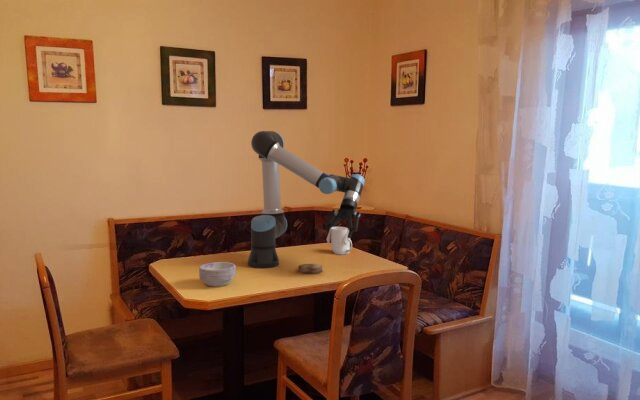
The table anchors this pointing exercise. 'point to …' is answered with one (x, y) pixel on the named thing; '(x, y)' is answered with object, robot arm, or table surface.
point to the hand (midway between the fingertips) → (336, 242)
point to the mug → (346, 249)
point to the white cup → (338, 238)
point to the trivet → (310, 268)
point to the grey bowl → (217, 273)
